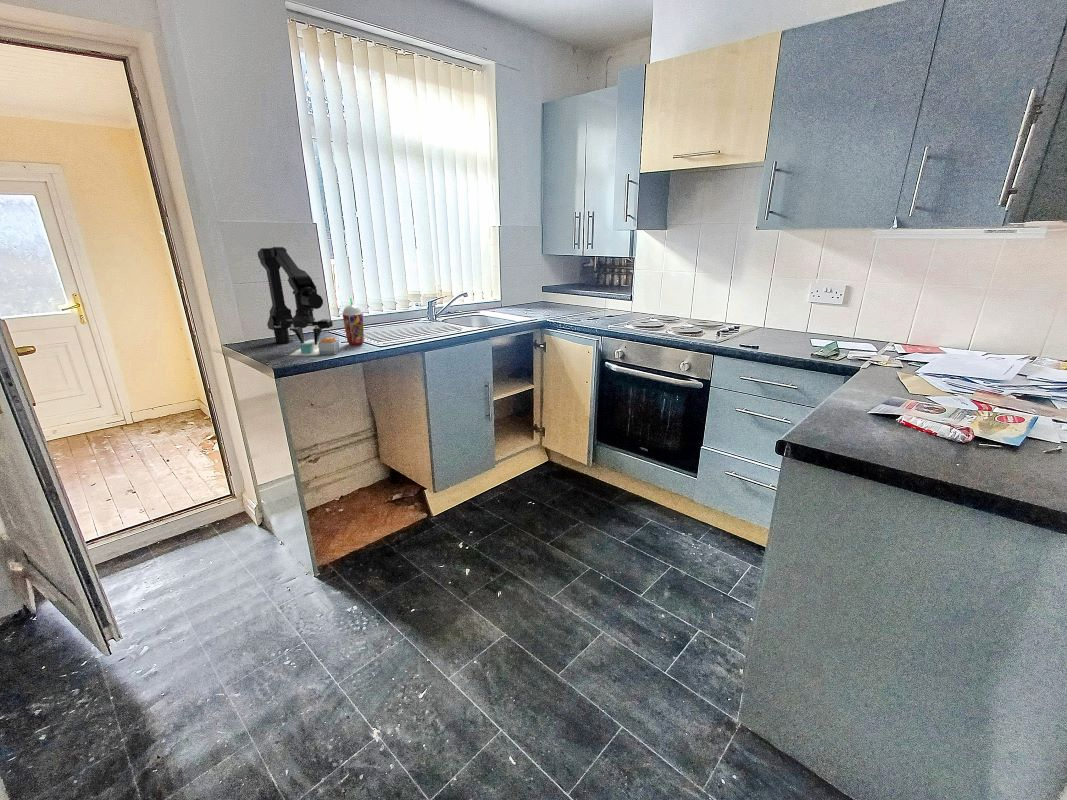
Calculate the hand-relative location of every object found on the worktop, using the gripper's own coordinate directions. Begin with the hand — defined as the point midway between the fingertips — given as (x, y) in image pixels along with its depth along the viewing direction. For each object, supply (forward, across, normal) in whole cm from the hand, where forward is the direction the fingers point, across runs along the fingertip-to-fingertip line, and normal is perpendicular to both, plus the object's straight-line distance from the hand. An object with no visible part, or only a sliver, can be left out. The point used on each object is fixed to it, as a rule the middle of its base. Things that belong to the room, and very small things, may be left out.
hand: (309, 344), depth 191 cm
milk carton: (+2, 0, 0) cm, 2 cm away
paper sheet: (+2, 0, 0) cm, 2 cm away
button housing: (+2, +9, -4) cm, 10 cm away
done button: (-1, +9, -4) cm, 10 cm away
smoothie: (+3, +15, +12) cm, 19 cm away
